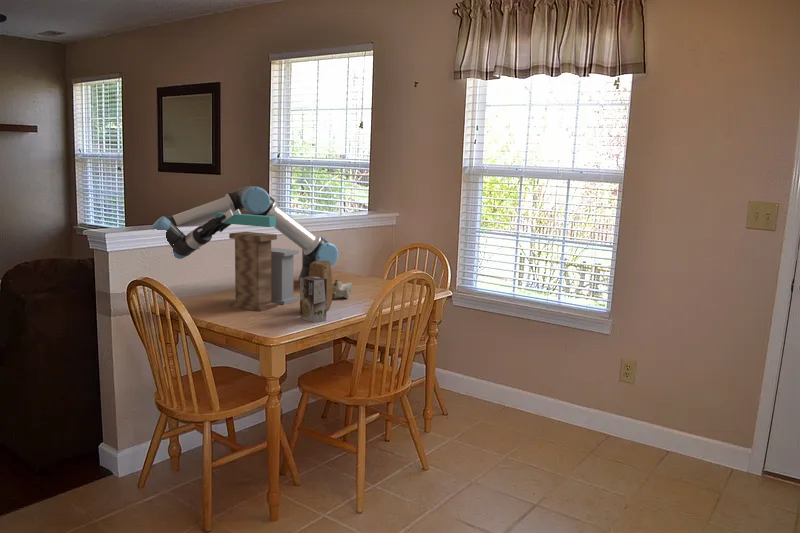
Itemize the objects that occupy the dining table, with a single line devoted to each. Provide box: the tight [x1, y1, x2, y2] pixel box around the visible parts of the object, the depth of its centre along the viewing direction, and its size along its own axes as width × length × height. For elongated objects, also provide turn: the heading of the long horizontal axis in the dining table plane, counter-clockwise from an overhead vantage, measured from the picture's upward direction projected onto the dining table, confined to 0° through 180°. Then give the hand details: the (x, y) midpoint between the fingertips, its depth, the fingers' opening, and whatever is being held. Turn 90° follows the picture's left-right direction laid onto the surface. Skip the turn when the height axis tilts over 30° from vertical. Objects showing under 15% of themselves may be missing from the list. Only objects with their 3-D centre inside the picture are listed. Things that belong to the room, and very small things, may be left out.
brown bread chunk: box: [309, 260, 334, 312], centre depth 251 cm, size 11×8×20 cm
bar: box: [215, 213, 276, 228], centre depth 251 cm, size 28×4×4 cm, turn 63°
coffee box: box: [299, 276, 327, 323], centre depth 235 cm, size 9×6×16 cm
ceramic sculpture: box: [332, 279, 353, 300], centre depth 275 cm, size 11×9×15 cm
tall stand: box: [228, 231, 278, 312], centre depth 252 cm, size 16×10×30 cm, turn 63°
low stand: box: [271, 247, 300, 305], centre depth 266 cm, size 16×10×22 cm, turn 63°
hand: (235, 212), depth 252 cm, fingers closed on bar, 4 cm apart
